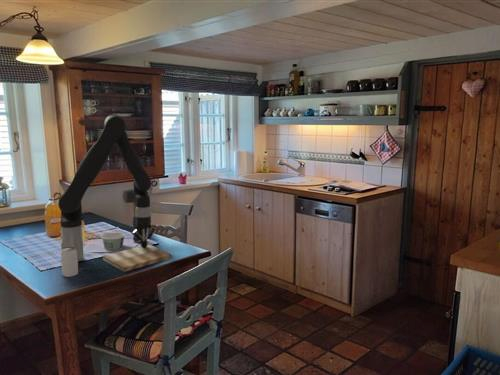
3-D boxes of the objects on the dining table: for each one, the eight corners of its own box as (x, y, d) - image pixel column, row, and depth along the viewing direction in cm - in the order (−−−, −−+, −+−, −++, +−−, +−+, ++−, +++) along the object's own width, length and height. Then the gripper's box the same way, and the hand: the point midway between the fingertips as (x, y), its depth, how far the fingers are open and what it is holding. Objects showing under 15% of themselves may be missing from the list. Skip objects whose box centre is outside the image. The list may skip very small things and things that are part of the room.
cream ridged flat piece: (113, 265, 191) (113, 261, 191) (102, 259, 198) (102, 255, 198) (160, 252, 210) (160, 249, 209) (149, 247, 217) (149, 244, 216)
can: (65, 271, 183) (63, 246, 181) (80, 271, 184) (78, 246, 182) (60, 277, 177) (58, 250, 175) (75, 277, 177) (73, 250, 175)
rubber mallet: (128, 245, 220) (127, 190, 215) (123, 241, 226) (121, 188, 221) (150, 241, 228) (148, 188, 223) (144, 237, 234) (142, 186, 228)
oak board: (124, 271, 184) (124, 267, 184) (113, 265, 191) (113, 261, 191) (172, 258, 203) (172, 254, 202) (160, 253, 210) (160, 249, 209)
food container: (129, 244, 222) (128, 232, 221) (119, 251, 211) (119, 239, 210) (107, 243, 224) (107, 231, 222) (97, 250, 212) (97, 238, 211)
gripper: (135, 218, 200) (136, 252, 203) (158, 214, 210) (159, 246, 213) (127, 215, 205) (128, 248, 209) (150, 211, 215) (151, 243, 218)
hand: (144, 247), depth 211 cm, fingers closed
